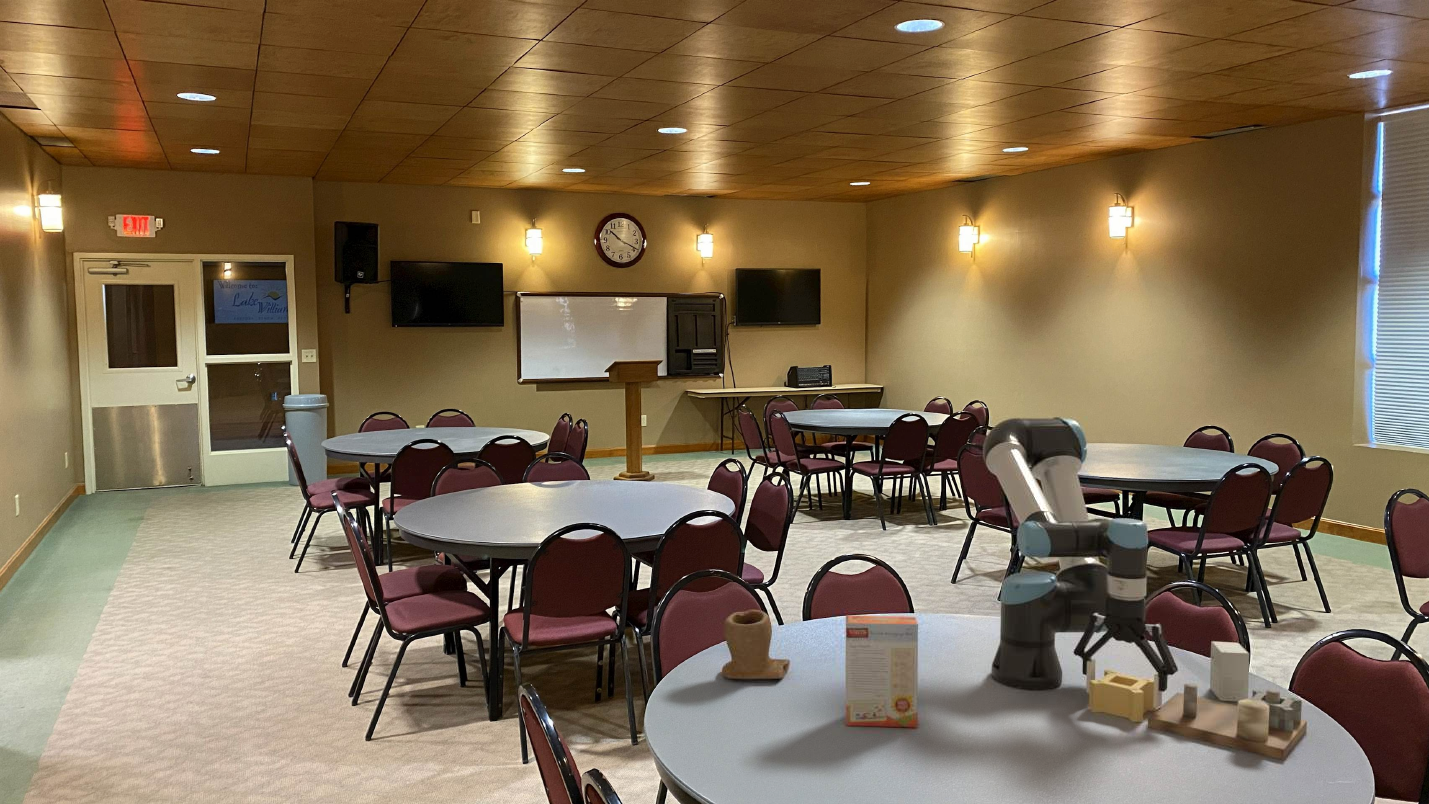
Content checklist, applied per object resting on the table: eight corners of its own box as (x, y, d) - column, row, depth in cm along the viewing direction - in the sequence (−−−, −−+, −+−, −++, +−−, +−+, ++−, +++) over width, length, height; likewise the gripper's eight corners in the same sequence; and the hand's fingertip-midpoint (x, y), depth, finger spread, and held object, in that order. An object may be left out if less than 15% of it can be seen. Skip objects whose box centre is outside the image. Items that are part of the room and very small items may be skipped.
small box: (1248, 703, 218) (1250, 653, 218) (1219, 701, 220) (1221, 651, 219) (1237, 689, 226) (1238, 642, 225) (1209, 688, 227) (1210, 640, 227)
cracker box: (915, 717, 211) (916, 615, 209) (917, 729, 205) (919, 624, 203) (844, 714, 212) (845, 613, 210) (845, 726, 206) (846, 621, 204)
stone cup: (719, 686, 229) (719, 618, 228) (724, 668, 241) (724, 604, 240) (788, 688, 227) (789, 620, 226) (790, 670, 239) (790, 605, 238)
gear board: (1147, 726, 206) (1148, 686, 205) (1177, 701, 219) (1178, 664, 219) (1283, 760, 190) (1285, 717, 189) (1306, 730, 203) (1308, 690, 203)
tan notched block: (1086, 710, 214) (1087, 681, 214) (1106, 696, 222) (1106, 668, 222) (1140, 723, 207) (1141, 694, 207) (1158, 708, 215) (1159, 680, 215)
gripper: (1059, 589, 218) (1056, 689, 220) (1184, 610, 202) (1181, 718, 203) (1073, 582, 224) (1071, 680, 225) (1196, 602, 208) (1193, 707, 209)
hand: (1123, 698), depth 214 cm, fingers open, 13 cm apart
